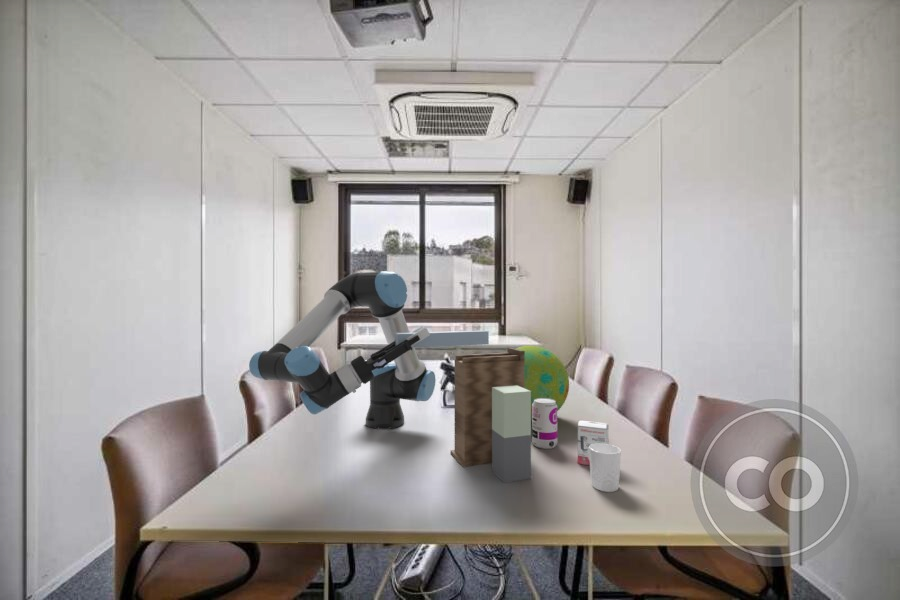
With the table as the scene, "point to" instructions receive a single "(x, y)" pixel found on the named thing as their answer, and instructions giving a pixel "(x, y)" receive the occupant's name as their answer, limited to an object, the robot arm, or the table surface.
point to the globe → (545, 375)
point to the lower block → (511, 457)
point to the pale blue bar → (448, 338)
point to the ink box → (590, 438)
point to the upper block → (511, 411)
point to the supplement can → (544, 423)
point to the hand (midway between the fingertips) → (425, 330)
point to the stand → (481, 400)
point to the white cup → (605, 466)
